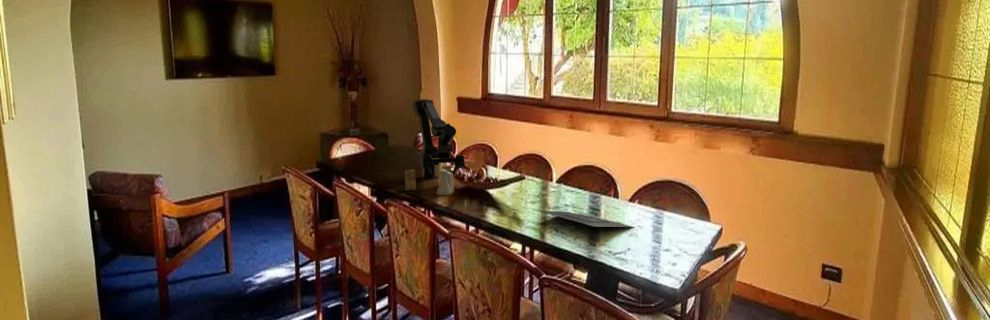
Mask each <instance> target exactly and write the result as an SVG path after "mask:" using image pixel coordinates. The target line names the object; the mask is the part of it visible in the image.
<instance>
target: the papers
mask: <svg viewBox="0 0 990 320" xmlns="http://www.w3.org/2000/svg"><path fill="white" fill-rule="evenodd" d="M540 212H541V213H543V214H547V215H551V216H554V217H558V218H559V219H563V220H567V221H570V222H574V223H578V224H581V225H586V226H589V227H595V228H596V227H597V228H600V227H604V228H605V227H607V228H611V227H614V228H617V227H618V228H633V226H632V225H627V224H625V223H621V222H618V221H614V220H608V219H604V218H599V217H596V216H590V215H586V214H585V215H584V214H580V213H574V212H570V211H560V210H559V211H557V210H556V211H555V210H540Z"/></svg>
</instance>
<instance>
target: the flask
mask: <svg viewBox="0 0 990 320" xmlns="http://www.w3.org/2000/svg"><path fill="white" fill-rule="evenodd" d="M440 174H441V180H440V179H439V184H438V188H437V190H436V195H438V196H449V195H452V194H453V191H452V190H451V187H450V185H449V182H448V179H447V172H445V171H442V172H440V171H439V175H440Z"/></svg>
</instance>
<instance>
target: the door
mask: <svg viewBox="0 0 990 320" xmlns="http://www.w3.org/2000/svg"><path fill="white" fill-rule="evenodd" d="M442 171H445V172H447V179H448V182H449V185H450V187H451V190H452V192H454V190H455V188H454V187H455V186H454V181H455V180H454V179H455V177H454V173H453V172H452V173H450V172H448V171H446V170H444V169H442V168H440V169H439V181H440V180H441V174H440V172H442Z"/></svg>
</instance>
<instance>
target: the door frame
mask: <svg viewBox="0 0 990 320" xmlns="http://www.w3.org/2000/svg"><path fill="white" fill-rule="evenodd" d="M451 168H452V169H453V165H451V164H449V165H441V169H444V170H446V171H448V172H450V173H452V174H453V171H452V172H451ZM404 180H405V183H404V184H405V191H414V190H417V187H416V186H417V182H416V181H417V180H416V170H415V169H409V170H404Z"/></svg>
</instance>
